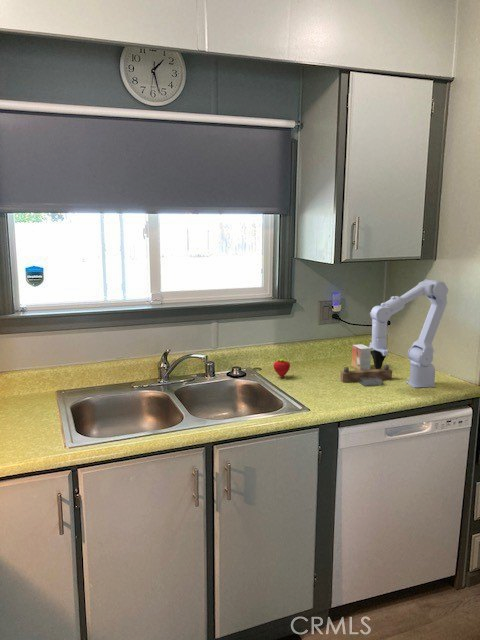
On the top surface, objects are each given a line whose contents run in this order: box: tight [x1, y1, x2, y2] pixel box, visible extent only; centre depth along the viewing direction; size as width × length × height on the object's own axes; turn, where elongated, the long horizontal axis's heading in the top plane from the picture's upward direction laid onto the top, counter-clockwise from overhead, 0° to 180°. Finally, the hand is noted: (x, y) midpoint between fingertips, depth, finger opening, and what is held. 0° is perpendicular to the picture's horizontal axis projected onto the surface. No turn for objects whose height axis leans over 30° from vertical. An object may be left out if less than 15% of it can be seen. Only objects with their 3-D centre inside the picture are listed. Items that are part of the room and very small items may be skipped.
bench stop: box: [339, 364, 393, 383], centre depth 229 cm, size 22×3×6 cm, turn 98°
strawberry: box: [272, 355, 291, 378], centre depth 234 cm, size 6×8×10 cm
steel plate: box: [358, 376, 383, 387], centre depth 225 cm, size 8×6×2 cm
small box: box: [350, 343, 372, 370], centre depth 246 cm, size 8×6×10 cm
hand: (378, 368), depth 217 cm, fingers closed
